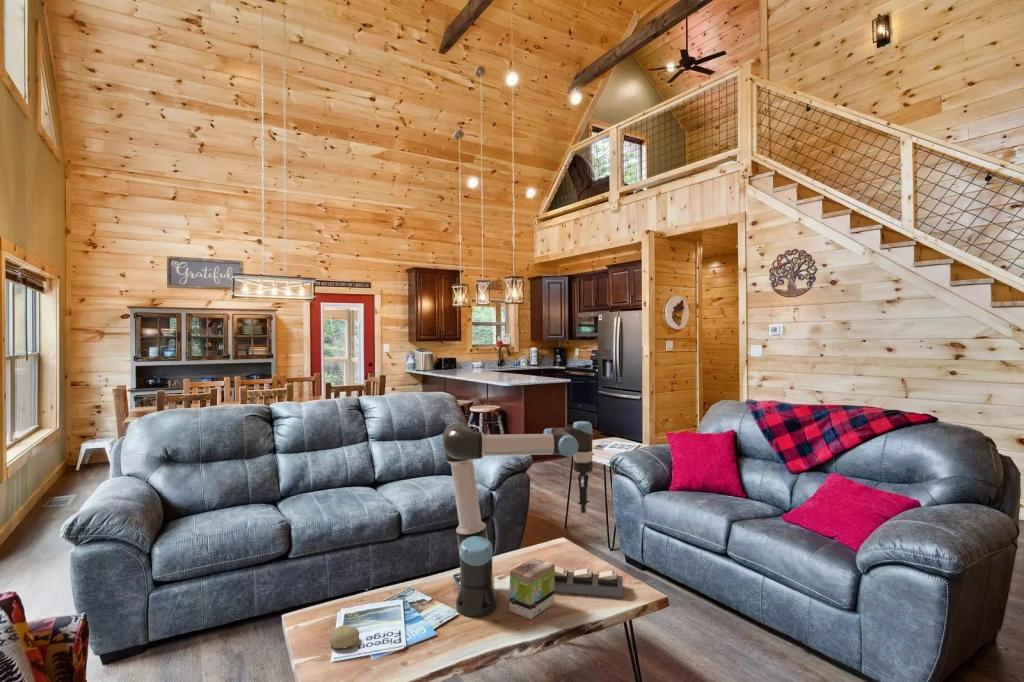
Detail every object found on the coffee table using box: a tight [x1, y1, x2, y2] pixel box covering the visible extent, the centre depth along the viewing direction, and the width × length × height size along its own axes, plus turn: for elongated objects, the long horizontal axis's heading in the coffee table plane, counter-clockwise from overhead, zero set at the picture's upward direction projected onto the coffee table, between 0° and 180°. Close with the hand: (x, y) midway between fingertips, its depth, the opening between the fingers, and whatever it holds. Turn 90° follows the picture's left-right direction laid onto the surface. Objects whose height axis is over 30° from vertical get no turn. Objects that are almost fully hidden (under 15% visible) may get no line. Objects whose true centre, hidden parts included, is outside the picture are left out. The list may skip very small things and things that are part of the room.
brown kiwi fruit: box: [329, 624, 360, 649], centre depth 174 cm, size 9×8×8 cm
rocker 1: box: [555, 565, 568, 576], centre depth 211 cm, size 6×4×2 cm
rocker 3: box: [598, 569, 618, 580], centre depth 207 cm, size 6×4×2 cm
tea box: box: [508, 557, 556, 620], centre depth 196 cm, size 15×10×15 cm, turn 143°
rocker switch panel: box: [554, 569, 624, 599], centre depth 209 cm, size 30×10×6 cm, turn 79°
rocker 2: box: [573, 567, 593, 578], centre depth 209 cm, size 6×4×2 cm
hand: (583, 519), depth 216 cm, fingers closed
